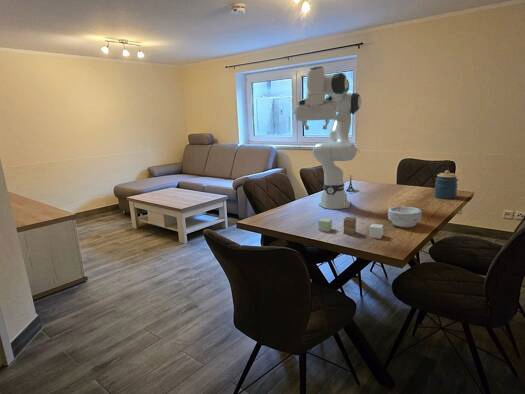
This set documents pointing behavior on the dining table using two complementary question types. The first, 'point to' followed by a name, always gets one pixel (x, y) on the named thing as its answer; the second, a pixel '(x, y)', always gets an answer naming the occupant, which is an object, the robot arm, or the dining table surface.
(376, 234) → the grey cube
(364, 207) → the dining table surface
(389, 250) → the dining table surface
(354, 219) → the walnut block
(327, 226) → the sage cube
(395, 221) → the paper bowls
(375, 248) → the dining table surface
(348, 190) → the eiffel tower figurine
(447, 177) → the canister
